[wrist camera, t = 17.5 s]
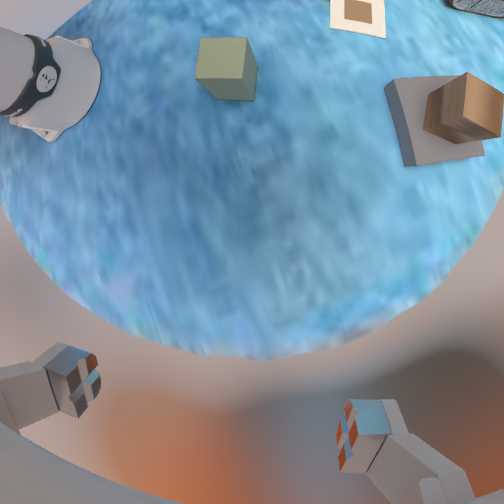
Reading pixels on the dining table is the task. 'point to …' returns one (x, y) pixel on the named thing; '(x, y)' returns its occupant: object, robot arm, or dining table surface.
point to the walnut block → (465, 110)
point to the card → (358, 16)
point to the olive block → (227, 68)
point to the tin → (480, 7)
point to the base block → (422, 123)
